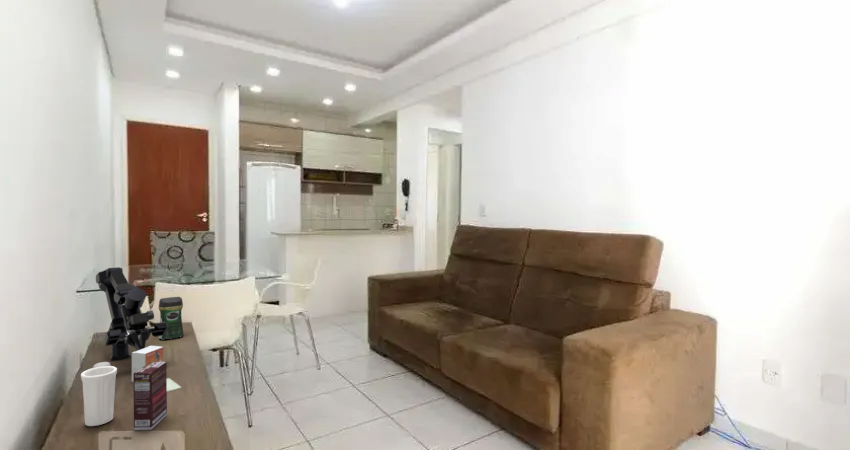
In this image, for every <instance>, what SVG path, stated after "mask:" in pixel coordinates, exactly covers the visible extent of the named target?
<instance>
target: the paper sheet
mask: <svg viewBox="0 0 850 450" xmlns="http://www.w3.org/2000/svg"><path fill="white" fill-rule="evenodd" d="M179 389H182V386H180V385H179V384H178V383H176V382H175V381H174V380H172V379H171V378H170V377H169V378H167V393H168V392H172V391H176V390H179Z"/></svg>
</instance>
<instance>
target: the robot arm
mask: <svg viewBox="0 0 850 450" xmlns="http://www.w3.org/2000/svg"><path fill="white" fill-rule="evenodd" d="M95 282H96V284H98V288H99V290H101V291H102V292H104V293H105V297H106V302H107V304H108V310H109V313H110V317H111V318H110V319H111V322H110V325H109V327H108V330H107V332H106V334H105V335H104V341H103V342H104V345H105V346H106V347H108V346H111V353H110V354H109V358H110V360H111V361H115V360H121V359H126V358H132V353H131V352H130V347H132V348H134V349H135V350H136V351H138V350H141V349H144V348H146V342H147V341H148V340H149V339H150V336H151V335H152V336H153V337H159V336H163V335H164V334H165V333H166V330H167V328H168V325H167V323H166V322H160V321H159V322H154V324H153V326H152V327H148V322H150V321H152V320H154V319H155V314H154V310H153V309H152V310H147V311H146V312H142V310H141V308H142V307H143V305H144V303H145V300H146V298H147V292H146V291H145V290H144V289H143V288H139V286H138V285H137V286H136V285H134V284H130V283H129V281H128V279H127V277H126V276H125V274H124V272H123V267H120V266H119V267H118V266H117V267H108V268H106V269H105V270H102V271H100V272H97V274H96V275H95ZM146 327H147V328H146Z"/></svg>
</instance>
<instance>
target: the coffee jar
mask: <svg viewBox="0 0 850 450" xmlns="http://www.w3.org/2000/svg"><path fill="white" fill-rule="evenodd" d="M183 306H184V302H183V298H182V297H181V296H170V297H163V298H160V299H159V301H158V310H159V313H160V314H159V315H160V317H159V323H160V322H166V323H167V325H168V328H167V330H166V333H165V334H164V335H163V336H158V338H159V340H160V339H161V340H162V341H166V340H165V339H170V340H172V339H171V338H176V339H178V338H177V337H180V336H182V337H183V336H184V328H183V327H184V326H183V320H182V319H183V317H182V309H183V308H184V307H183ZM180 338H181V337H180Z"/></svg>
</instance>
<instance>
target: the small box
mask: <svg viewBox="0 0 850 450" xmlns="http://www.w3.org/2000/svg"><path fill="white" fill-rule="evenodd" d="M150 362H164V346H160V345H159V346H158V345H149V346H145V348H144V349H141V350H138V351H137V350H136V351H133V352H131V383H132V384H134V378H133V373H134V372H136V371H137V370H139V369H140V368H142V367H144V366H145V365H147V364H148V363H150Z"/></svg>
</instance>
